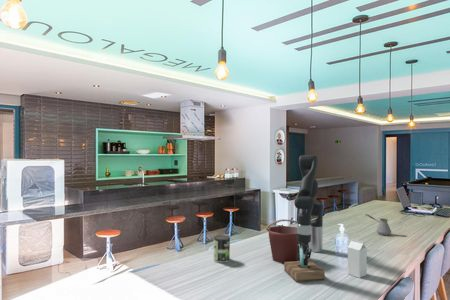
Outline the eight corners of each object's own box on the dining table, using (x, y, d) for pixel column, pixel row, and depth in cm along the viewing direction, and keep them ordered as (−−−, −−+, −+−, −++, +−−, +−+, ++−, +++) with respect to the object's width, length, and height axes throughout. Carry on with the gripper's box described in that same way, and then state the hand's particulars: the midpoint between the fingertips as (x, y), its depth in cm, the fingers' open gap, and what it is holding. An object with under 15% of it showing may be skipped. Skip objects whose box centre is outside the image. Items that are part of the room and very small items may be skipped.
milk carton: (359, 278, 166) (359, 242, 166) (347, 274, 172) (347, 239, 172) (366, 275, 170) (366, 240, 170) (354, 271, 176) (354, 237, 176)
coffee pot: (393, 234, 259) (393, 216, 259) (388, 237, 251) (388, 218, 251) (367, 229, 275) (368, 213, 275) (362, 231, 267) (362, 214, 267)
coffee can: (232, 259, 194) (233, 236, 194) (224, 263, 185) (224, 240, 186) (219, 256, 200) (219, 234, 200) (210, 260, 191) (210, 237, 191)
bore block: (284, 270, 175) (284, 262, 175) (310, 269, 178) (310, 260, 178) (296, 282, 160) (296, 272, 160) (324, 280, 163) (324, 270, 163)
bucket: (306, 256, 201) (307, 218, 201) (303, 268, 180) (303, 225, 180) (269, 252, 209) (270, 215, 209) (262, 262, 188) (262, 221, 189)
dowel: (298, 269, 171) (298, 247, 171) (305, 268, 171) (305, 247, 172) (301, 272, 167) (302, 249, 167) (308, 271, 168) (308, 249, 168)
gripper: (292, 229, 176) (292, 259, 175) (303, 236, 162) (303, 269, 161) (304, 229, 177) (304, 259, 177) (316, 235, 163) (316, 268, 163)
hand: (303, 263), depth 169 cm, fingers closed on dowel, 4 cm apart
